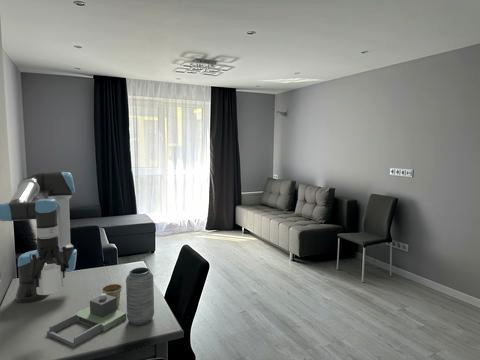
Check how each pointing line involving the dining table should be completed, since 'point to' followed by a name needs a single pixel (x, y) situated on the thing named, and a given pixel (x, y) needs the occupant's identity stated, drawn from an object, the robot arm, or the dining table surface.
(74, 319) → the square frame with panel
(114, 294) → the flower pot
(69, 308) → the dining table surface
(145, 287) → the vase
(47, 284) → the cup
